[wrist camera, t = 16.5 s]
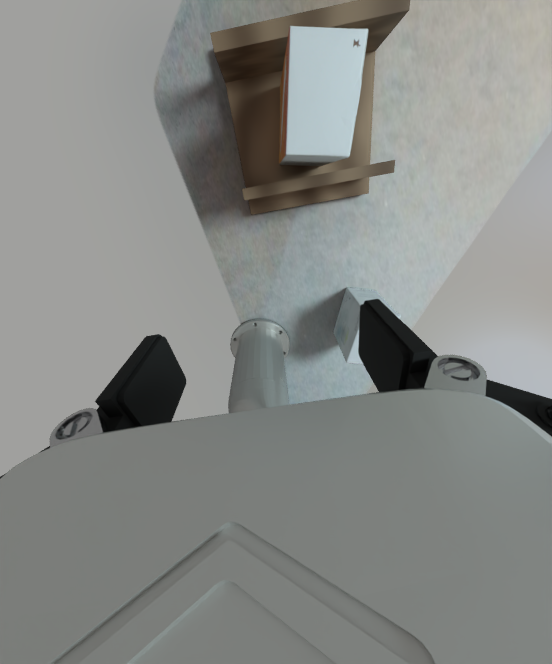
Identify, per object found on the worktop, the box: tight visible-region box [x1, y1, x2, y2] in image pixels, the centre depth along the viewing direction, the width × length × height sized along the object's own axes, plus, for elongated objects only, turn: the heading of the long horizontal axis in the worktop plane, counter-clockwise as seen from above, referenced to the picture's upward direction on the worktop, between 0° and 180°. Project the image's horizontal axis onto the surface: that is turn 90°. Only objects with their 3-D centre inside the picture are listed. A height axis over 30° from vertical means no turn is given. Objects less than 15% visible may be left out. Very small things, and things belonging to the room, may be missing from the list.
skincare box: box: [333, 288, 401, 365], centre depth 43 cm, size 10×6×10 cm, turn 173°
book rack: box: [210, 0, 410, 215], centre depth 28 cm, size 18×18×9 cm
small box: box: [279, 26, 368, 166], centre depth 25 cm, size 8×6×13 cm
